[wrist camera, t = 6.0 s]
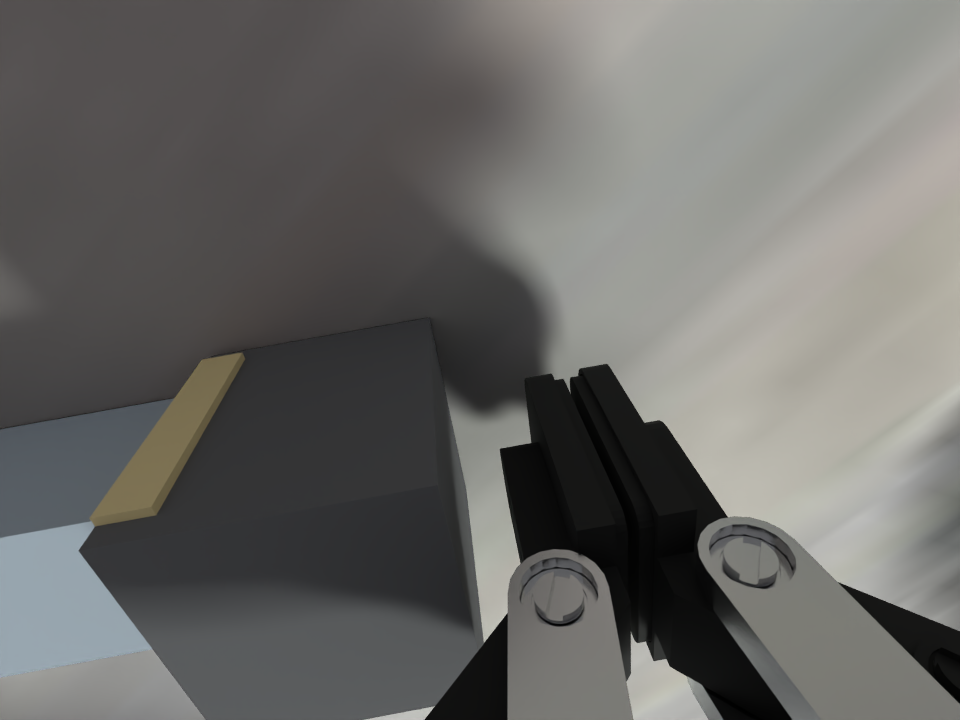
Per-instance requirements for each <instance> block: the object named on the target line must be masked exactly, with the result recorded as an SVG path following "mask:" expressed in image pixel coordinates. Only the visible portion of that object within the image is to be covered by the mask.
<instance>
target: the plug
mask: <svg viewBox="0 0 960 720" xmlns="http://www.w3.org/2000/svg"><path fill="white" fill-rule="evenodd" d="M483 644H484V641H483V632H482V623H481V615H480V606H479V597H478V588H477V580H476V571H475V562H474V553H473V545H472V536H471V527H470V518H469V510H468V501H467V492H466V487H465V482H464V477H463V473H462V468H461V463H460V459H459V454H458V449H457V445H456V440H455V435H454V431H453V426H452V421H451V417H450V412H449V407H448V403H447V398H446V393H445V389H444V384H443V379H442V375H441V370H440V365H439V361H438V356H437V351H436V347H435V342H434V337H433V333H432V328H431V323H430V319H429V318H425V319H419V320H414V321H408V322H402V323H397V324H391V325H385V326H380V327H374V328H369V329H363V330H357V331H352V332H346V333H340V334H335V335H329V336H324V337H318V338H312V339H307V340H301V341H295V342H290V343H284V344H279V345H273V346H267V347H262V348H256V349H250V350H245V351H239V352H234V353H228V354H222V355H217V356H212V357H211V358H208V359H203V360H201V362H200V363H199V364H198V366H197V367H196V369H195V370H194V372H193V373H192V374H191V376H190V377H189V379H188V380H187V381H186V383H185V384H184V386H183V387H182V388H181V390H180V391H179V393H178V394H177V395H176V397H175V398H173V399H167V400H162V401H156V402H151V403H145V404H140V405H134V406H128V407H123V408H117V409H112V410H106V411H100V412H95V413H89V414H84V415H78V416H72V417H67V418H61V419H56V420H50V421H44V422H39V423H33V424H28V425H22V426H16V427H11V428H5V429H0V678H1V677H6V676H12V675H17V674H22V673H28V672H33V671H38V670H44V669H49V668H54V667H60V666H65V665H71V664H76V663H81V662H87V661H92V660H97V659H103V658H108V657H113V656H119V655H124V654H130V653H135V652H140V651H146V650H151V649H153V650H154V652H155V653H156V654H157V656H158V657H159V658H160V660H161V661H162V662H163V664H164V665H165V666H166V668H167V669H168V670H169V672H170V673H171V674H172V676H173V677H174V678H175V679H176V681H177V682H178V683H179V685H180V686H181V687H182V689H183V690H184V691H185V693H186V694H187V695H188V697H189V698H190V699H191V701H192V702H193V703H194V705H195V706H196V707H197V709H198V710H199V711H200V713H201V714H202V715H203V717H204V718H205V719H206V720H364V719H369V718H375V717H380V716H385V715H390V714H396V713H401V712H406V711H412V710H417V709H422V708H427V707H433V706H436V704H437V703H438V702H439V701H440V699H441V698H442V697H443V695H444V694H445V693H446V692H447V690H448V689H449V688H450V686H451V685H452V684H453V683H454V681H455V680H456V679H457V677H458V676H459V675H460V674H461V672H462V671H463V670H464V668H465V667H466V666H467V665H468V663H469V662H470V661H471V659H472V658H473V657H474V656H475V654H476V653H477V652H478V650H479V649H480V648H481V647H482V645H483Z"/></svg>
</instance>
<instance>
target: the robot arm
mask: <svg viewBox="0 0 960 720" xmlns="http://www.w3.org/2000/svg"><path fill="white" fill-rule="evenodd" d="M524 382H525V392H526V401H527V409H528V417H529V426H530V434H531V443H530V444H524V445H518V446H513V447H507V448H501V449H500V455H501V461H502V468H503V474H504V480H505V486H506V492H507V497H508V503H509V508H510V513H511V518H512V523H513V528H514V533H515V538H516V543H517V548H518V553H519V558H520V562H521V564H520V565H519V566H518V567H517V568H516V570H515V572H514V573H513V575H512V577H511V579H510V583H509V589H508V613H507V614H506V616H505V617H504V618H503V620H502V621H501V622H500V623H499V625H498V626H497V627H496V629H495V630H494V631H493V632H492V634H491V635H490V636H489V638H488V639H487V640H486V641H485V643H484V644H483V645H482V647H481V648H480V649H479V650H478V652H477V653H476V654H475V656H474V657H473V658H472V659H471V661H470V662H469V663H468V665H467V666H466V667H465V668H464V670H463V671H462V672H461V674H460V675H459V676H458V677H457V679H456V680H455V681H454V683H453V684H452V685H451V686H450V688H449V689H448V690H447V692H446V693H445V694H444V695H443V697H442V698H441V699H440V701H439V702H438V703H437V704H436V706H435V707H434V708H433V710H432V711H431V712H430V713H429V715H428V716H427V717H426V719H425V720H633V715H632V710H631V704H630V699H629V694H628V688H627V683H626V681H627V680H628V678H629V676H630V674H631V633H632V635H633V638H634V640H635V641H636V642H637V643H640V642H645V641H646V643H647V645H648V648H649V650H650V653H651V656H652V658H653V661H657V660H662V659H667V661H668V663H669V666H670V667H672V668H673V669H675V670H677V671H679V672H680V673H682V674H684V675H686V676H687V678H688V683H689V685H690V687H691V690H692V692H693V694H694V696H695V698H696V699H697V701H698V703H699V704H700V706H701V708H702V709H703V711H704V713H705V714H706V716H707V718H708V720H960V631H957V630H955V629H952V628H950V627H947V626H945V625H943V624H940V623H938V622H935V621H933V620H930V619H928V618H925V617H923V616H920V615H918V614H915V613H913V612H910V611H908V610H905V609H903V608H900V607H898V606H896V605H893V604H891V603H888V602H886V601H883V600H881V599H878V598H876V597H873V596H871V595H868V594H866V593H863V592H861V591H858V590H856V589H853V588H851V587H849V586H846V585H844V584H841V583H839V582H837V581H836V580H835V579H834V578H833V577H832V576H831V575H830V574H829V573H828V572H827V571H826V570H825V569H824V568H823V567H822V566H821V565H820V564H819V563H818V562H817V561H816V560H815V559H814V558H813V557H812V556H811V555H810V554H809V553H808V552H807V551H806V550H805V549H804V548H803V547H802V546H801V545H800V544H799V543H798V542H797V541H796V540H795V539H793V538H792V537H791V536H789V535H788V534H787V533H786V532H784V531H783V530H782V529H780V528H778V527H776V526H774V525H772V524H770V523H768V522H765V521H761V520H758V519H754V518H750V517H735V516H734V517H727V515H726V514H725V512H724V511H723V509H722V508H721V506H720V505H719V504H718V502H717V501H716V499H715V498H714V496H713V495H712V493H711V492H710V490H709V489H708V487H707V486H706V484H705V483H704V481H703V480H702V478H701V477H700V475H699V474H698V472H697V471H696V469H695V468H694V466H693V465H692V463H691V462H690V460H689V459H688V457H687V456H686V454H685V453H684V451H683V450H682V448H681V447H680V445H679V444H678V443H677V441H676V440H675V438H674V437H673V435H672V434H671V432H670V431H669V429H668V428H667V426H666V425H665V424H664V423H663V422H662V421H659V420H658V421H653V422H647V423H644V422H643V420H642V419H641V417H640V415H639V414H638V412H637V410H636V409H635V407H634V406H633V404H632V402H631V401H630V399H629V397H628V396H627V394H626V393H625V391H624V389H623V388H622V386H621V385H620V383H619V381H618V380H617V378H616V376H615V375H614V373H613V372H612V370H611V368H610V367H609V366H608V364H603V365H598V366H592V367H586V368H581V369H579V373H578V376H576V377H571V378H570V392H571V394H570V392H569V390H568V388H567V385H566V383H565V381H564V379H559V380H554V377H553V375H552V374H547V375H541V376H535V377H530V378H525V380H524Z"/></svg>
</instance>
